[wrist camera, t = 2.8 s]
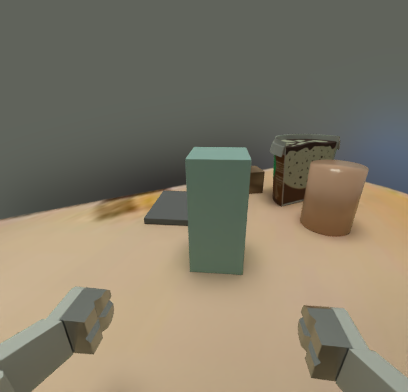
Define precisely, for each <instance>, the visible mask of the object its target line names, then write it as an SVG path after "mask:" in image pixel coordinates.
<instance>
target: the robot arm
mask: <svg viewBox="0 0 408 392" xmlns="http://www.w3.org/2000/svg"><path fill="white" fill-rule="evenodd" d="M110 298H111V292H110V290H105V289H96V288H87V287H86V288H85V287H74V288H72V289H71V290H70V291H69V292H68V294H67V295H66V296H65V297H64V298H63V299H62V301H61V302H60V303H59V304H58V305H57V307H56V308H55V309H54V310H53V311H52V312H51V314H50V315H49V316H48V317H47V318H46V319H41V320H40V321H38V322H36V323H35V324H33V325H31V326H30V327H28V328H26V329H24V330H23V331H21V332H19V333H18V334H16V335H14V336H12V337H11V338H9V339H7V340H6V341H4V342H2V343H1V344H0V392H31V391H32V390H34V389H35V388H36V387H37V386H38V385H39V384H40V383H41V382H43V381H44V380H45V379H46V378H47V377H48V376H49V375H50V374H52V373H53V372H54V371H55V370H56V369H57V368H58V367H59V366H61V365H62V364H63V363H64V362H65V361H66V360H67V359H69V358H70V357H71V356H72V355H73V353H82V354H94V353H95V351H96V350H97V348H98V346H99V344H100V342H101V340H102V338H103V336H102V332H103V331H104V330H106V329H107V328H108V327H109V325H110V323H111V321H112V318H113V314H114V306H113V303H112V302H111V301H110ZM301 313H302V316H303V317H302V318H301V319H300V320H299V323H298V335H299V340H300V344H301V346H302V347H303V349H304V350H305V351H306V352H307V353H306V357H305V360H306V363H307V366H308V369H309V373H310V376H311V378H315V379H322V380H329V381H336V384H337V385H338V386H339V387H340V389H341V390H342V391H343V392H408V378H407V377H405V376H404V375H403V374H402V373H401V372H399V371H398V370H397V369H396V368H395V367H393V366H392V365H391V364H390V363H388V362H387V361H386V360H385V359H384V358H382V357H381V356H380V355H379V354H378V353H376V352H375V351H371V350H369V348H368V346H367V345H366V343H365V341H364V339H363V338H362V336H361V334H360V333H359V331H358V329H357V328H356V326H355V324H354V323H353V321H352V319H351V317H350V316H349V314H348V312H347V311H346V310H345V309H344V308H333V307H330V308H329V307H321V306H306V305H304V306H303V307H302V310H301Z"/></svg>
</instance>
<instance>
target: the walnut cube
mask: <svg viewBox="0 0 408 392" xmlns="http://www.w3.org/2000/svg"><path fill="white" fill-rule="evenodd" d="M263 182H264V171H263V170H261V169H260V168H258V167H257V166H251V172H250V185H249V194H252V193H262V191H263Z"/></svg>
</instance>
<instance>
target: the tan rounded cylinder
mask: <svg viewBox="0 0 408 392" xmlns="http://www.w3.org/2000/svg"><path fill="white" fill-rule="evenodd" d="M367 173H368V168H367V167H365V166H363V165H361V164H357V163H353V162H347V161H341V160H315V161H312V162H311V163H310V169H309V174H308V179H307V185H306V190H305V195H304V201H303V206H302V211H301V217H300V222H301V224H302V225H303V226H304V227H306V228H307V229H309V230H311V231H313V232H316V233H319V234H322V235H327V236H344V235H347V234H349V233H350V231H351V227H352V224H353V221H354V217H355V214H356V211H357V207H358V204H359V200H360V197H361V194H362V190H363V187H364V184H365V180H366V177H367Z"/></svg>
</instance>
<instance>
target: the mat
mask: <svg viewBox="0 0 408 392" xmlns="http://www.w3.org/2000/svg"><path fill="white" fill-rule="evenodd" d="M144 223H145V224H167V225H188V209H187V192H186V191H163V192H162V194H161V195H160V197H159V198H158V199H157V201H156V202H155V204H154V205H153V206H152V208H151V209H150V211H149V212H148V213H147V215H146V216H145V218H144Z"/></svg>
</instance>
